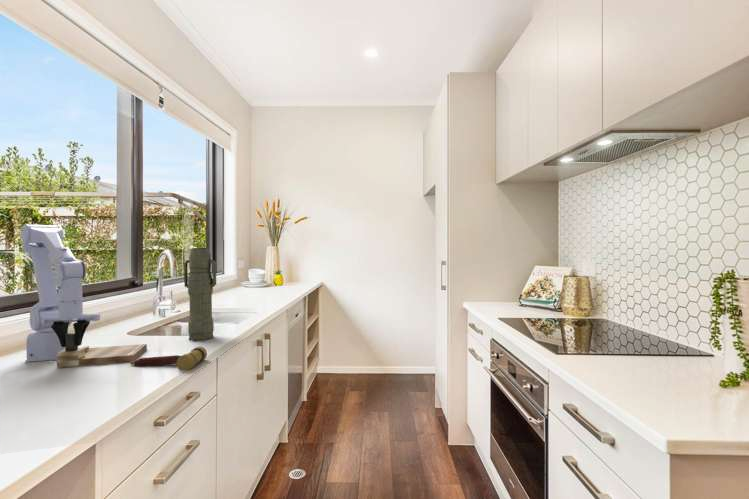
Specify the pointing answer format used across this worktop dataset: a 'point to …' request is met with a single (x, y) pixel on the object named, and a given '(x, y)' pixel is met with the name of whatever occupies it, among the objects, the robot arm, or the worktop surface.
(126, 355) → the board
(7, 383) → the worktop surface
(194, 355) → the gavel
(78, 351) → the rubber stamp
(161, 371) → the worktop surface
